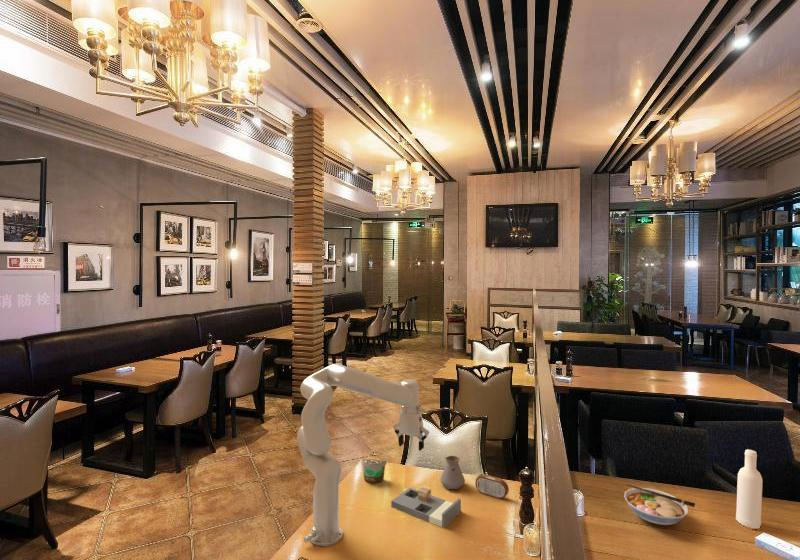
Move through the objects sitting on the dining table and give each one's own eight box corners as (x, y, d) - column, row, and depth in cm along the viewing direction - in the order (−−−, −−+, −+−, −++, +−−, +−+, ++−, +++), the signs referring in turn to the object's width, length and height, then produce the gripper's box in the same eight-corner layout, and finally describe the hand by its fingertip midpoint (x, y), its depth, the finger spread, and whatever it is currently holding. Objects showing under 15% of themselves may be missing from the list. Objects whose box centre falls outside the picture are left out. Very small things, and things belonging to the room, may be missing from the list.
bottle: (739, 527, 175) (742, 453, 174) (732, 517, 183) (735, 445, 181) (764, 532, 172) (767, 456, 171) (756, 521, 180) (758, 448, 179)
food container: (358, 483, 208) (358, 463, 208) (361, 477, 214) (361, 457, 214) (383, 486, 206) (384, 465, 206) (386, 479, 212) (386, 459, 212)
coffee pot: (440, 478, 214) (440, 448, 213) (464, 480, 212) (464, 449, 212) (439, 502, 192) (439, 469, 192) (466, 504, 191) (466, 470, 191)
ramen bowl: (613, 518, 181) (613, 499, 181) (629, 497, 198) (630, 479, 197) (684, 545, 164) (685, 524, 164) (696, 519, 181) (696, 500, 180)
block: (425, 502, 188) (426, 492, 188) (418, 499, 191) (418, 489, 190) (430, 497, 191) (430, 488, 191) (423, 495, 194) (423, 486, 194)
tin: (508, 498, 196) (509, 480, 196) (506, 501, 193) (506, 483, 193) (477, 489, 204) (477, 471, 204) (474, 492, 202) (474, 474, 201)
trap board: (444, 528, 174) (444, 514, 174) (391, 506, 189) (391, 494, 189) (460, 511, 185) (460, 498, 185) (409, 492, 200) (409, 480, 200)
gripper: (432, 408, 189) (432, 447, 190) (397, 403, 198) (398, 440, 199) (424, 414, 183) (425, 454, 184) (388, 408, 191) (389, 446, 192)
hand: (411, 447), depth 191 cm, fingers open, 9 cm apart
